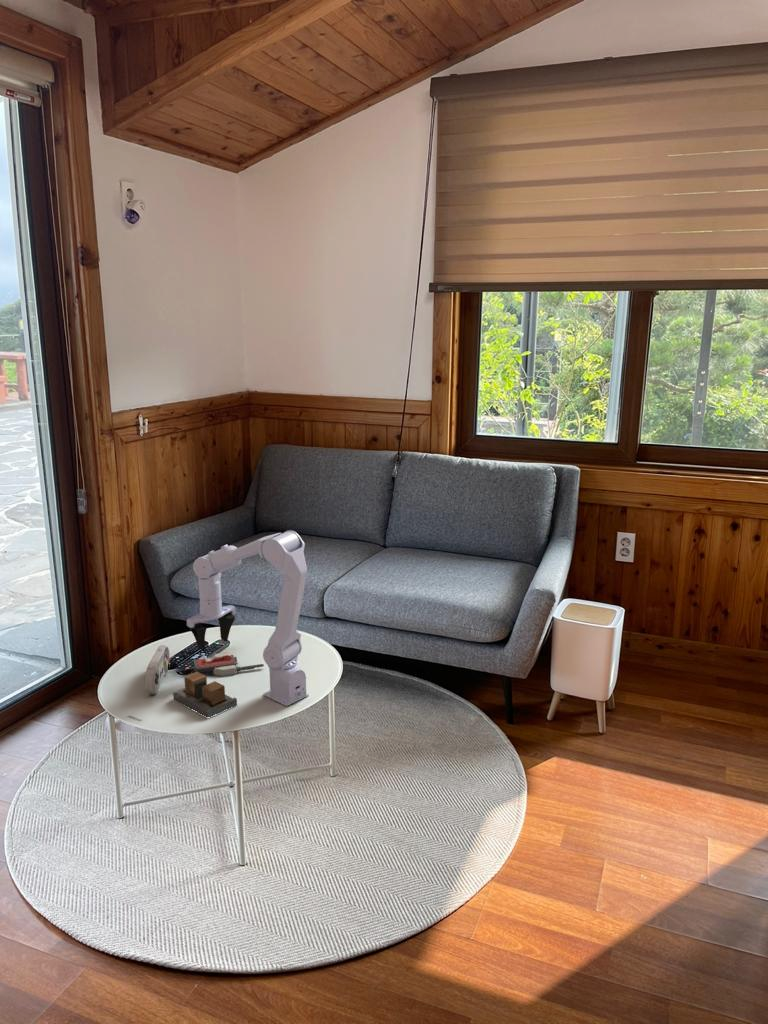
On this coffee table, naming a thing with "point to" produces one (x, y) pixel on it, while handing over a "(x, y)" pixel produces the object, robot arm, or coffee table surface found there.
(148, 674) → the game controller
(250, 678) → the coffee table surface
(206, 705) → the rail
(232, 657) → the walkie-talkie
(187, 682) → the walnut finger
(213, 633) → the coffee table surface
